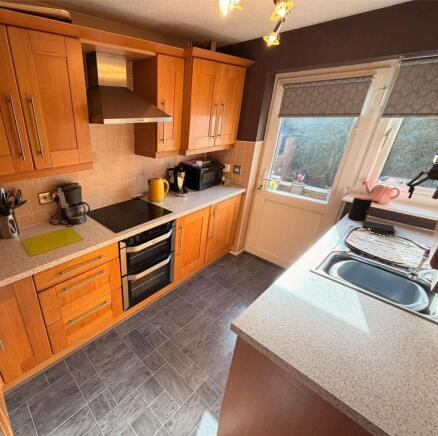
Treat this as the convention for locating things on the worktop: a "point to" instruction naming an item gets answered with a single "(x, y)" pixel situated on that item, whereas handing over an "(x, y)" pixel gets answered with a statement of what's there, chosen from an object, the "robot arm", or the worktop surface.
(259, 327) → the worktop surface
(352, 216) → the coffee jar
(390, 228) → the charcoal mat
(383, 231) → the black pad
